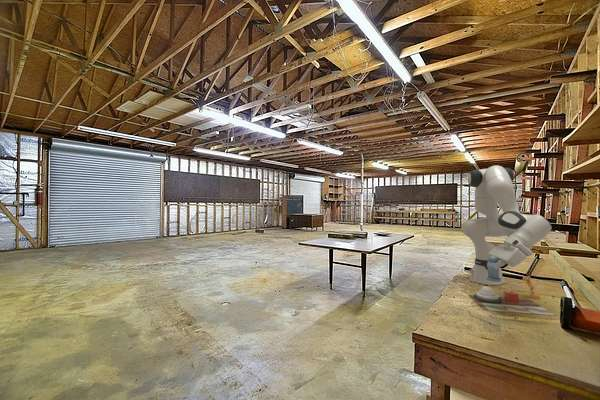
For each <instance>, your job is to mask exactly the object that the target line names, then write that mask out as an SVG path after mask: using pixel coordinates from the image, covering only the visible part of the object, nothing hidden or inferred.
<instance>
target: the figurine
mask: <svg viewBox="0 0 600 400" xmlns="http://www.w3.org/2000/svg"><path fill="white" fill-rule="evenodd" d="M523 280H524V282H525V283H526V285H527V286H528V288H529V289H530V292H531V293H530V294H529V298H530V299H531V300H532V299H533V300H541V295H540V294H539V293H538V292H536V291H534V288H535V285H533V282H532V281H531V275H526V276H523Z"/></svg>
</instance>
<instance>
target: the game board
mask: <svg viewBox="0 0 600 400" xmlns="http://www.w3.org/2000/svg"><path fill="white" fill-rule="evenodd" d="M467 296H468V297H469V298H470V299H471V300H472V301H473V302H474V303H475V304H476V305H477V306H478V307H480V309H482V311H486V312H487V311H488V312H500V313H514V314H525V315H526V314H528V315H541V316H552V317H553V316H554V317H556V316H557V315H556V314H554V313H553V312H551V311H550V310H548V309H546V308H545V307H543V306H541V305H539V304H538V303H536V302H534V301H533V300H532V299H529V298H528V297H518V298H519V303H515V302H508V301H506V300H505V296H499V299H498V300H486V299H481V298H479V297H477V296H476V293H475V294H467ZM492 315H494V316H496V314H495V313H494V314H492ZM505 316H509V315H507V314H506V315H505ZM518 317H521V318H522V316H518ZM531 318H535V317H532V316H531ZM544 319H545V320H548V318H544Z"/></svg>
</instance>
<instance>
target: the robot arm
mask: <svg viewBox="0 0 600 400" xmlns="http://www.w3.org/2000/svg"><path fill="white" fill-rule="evenodd" d="M514 178H515V173H514V171H513V170H512V168H509V167H503V166H501V165H491V166H489V167H488V168H482V169H473V170H471V171H469V173H468V175H467V178H466V179H467V183H468V185H469V187H471V188H475V190H474V209H475V211H476V212H478V213H479V214H482V215H485V218H471V219H465V220H463V221H462V223H461V227H460V229H461V232H462V233H463V235H465V236H466V237H468V238H469V239H470V241H471V242H472V243H473V246H474V250H475V258H474V265H473V266H472V267H471V268H470V269H469V273H470V274H467V278H468V277H469V278H468V280H469V282H471V281H472V283H478V284H483V285H486V286H487V285H488V286H500V285H503V284H506V283H507V282H506V281H505V280H504V279H503V271H502V268H501V267H504V266H505V265H509V266H511V267H516V266H519V264H520V263H522V262H523V261H525V260H526V259H527V258H528V257H531V256H533V254H534V253H533V251H532V248H534V245H536V244H538V243H539V242H541V241H542V240H543V239H545V237H546V236H547V235H549V233H550V231H552V229H553V228H552V227H553V226H552V224H551V222H550V221H549V220H547V218H546V217H544V216H542V215H541V214H537V213H536V214H525V213H521V212H520V209H519V205H518V204H517V203H518V202H517V199H516V194H515V193H516V192H515V189H514V184H513V183H514ZM498 206H499V207H500V209H501V210H502V212H503V213H502V214H500V213H499V211H498ZM505 236H507V237H506V238H505V239H504V240H503V243H500V244H497V245H496V244H494V243H492V242H489V241H487V240H486V237H487V238H488V237H489V238H490V237H492V238H499V237H505ZM490 256H495V257H496V258H497V262H498V263H496V264H494V265H493V266H492V267H493V268H494V269H496V270H497V269H498V268H499V278H501V281H500V282H494V281H489V280H487V277H488V263H487V262H488V261H489V260H488V258H489V257H490Z"/></svg>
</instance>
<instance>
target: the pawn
mask: <svg viewBox="0 0 600 400" xmlns="http://www.w3.org/2000/svg"><path fill="white" fill-rule="evenodd" d="M488 260H489V261H488V262H487V263H488V277H487V280H489V281H494V282H500V281H501V278H499V268H500V267H499V268H498V269H497V270H496V269H494V268H493V267H492V266H493V265H494V264H496V263H498V262H497V258H496V257H495V256H490V257H489V258H488Z"/></svg>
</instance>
